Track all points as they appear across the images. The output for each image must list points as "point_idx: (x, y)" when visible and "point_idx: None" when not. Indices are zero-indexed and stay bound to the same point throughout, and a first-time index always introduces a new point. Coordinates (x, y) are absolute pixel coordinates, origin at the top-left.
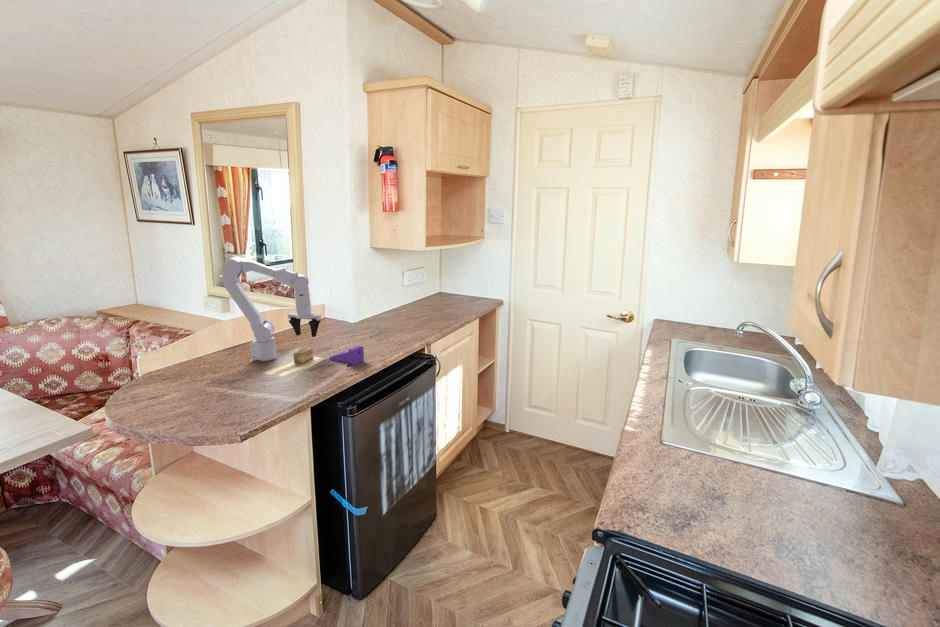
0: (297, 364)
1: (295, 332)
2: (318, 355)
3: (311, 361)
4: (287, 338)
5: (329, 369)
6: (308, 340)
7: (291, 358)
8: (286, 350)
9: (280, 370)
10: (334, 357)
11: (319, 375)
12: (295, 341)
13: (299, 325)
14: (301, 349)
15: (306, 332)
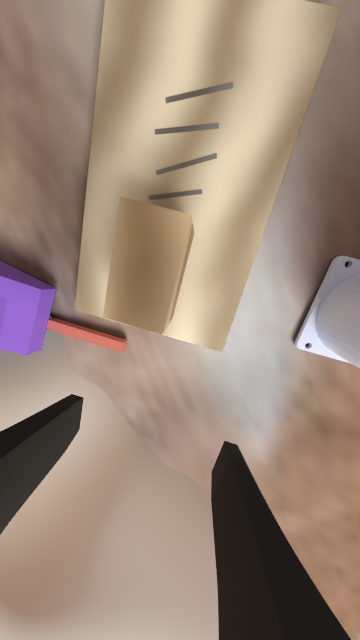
0: None
1: (248, 474)
2: (122, 343)
3: None
4: (335, 561)
5: (20, 193)
6: None
7: (233, 305)
8: (300, 439)
9: (230, 95)
10: (9, 275)
11: (23, 99)
12: (292, 527)
13: (224, 620)
14: (157, 285)
15: None
